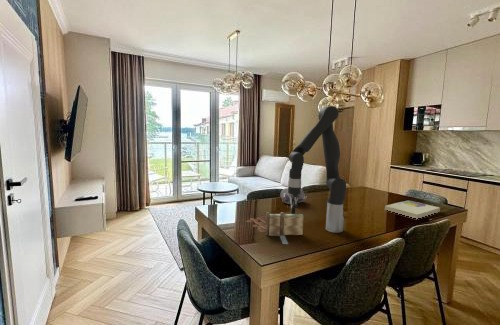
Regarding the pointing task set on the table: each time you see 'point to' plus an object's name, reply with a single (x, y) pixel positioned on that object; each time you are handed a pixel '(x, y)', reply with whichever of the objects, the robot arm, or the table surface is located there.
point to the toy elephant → (286, 195)
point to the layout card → (281, 238)
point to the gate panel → (293, 224)
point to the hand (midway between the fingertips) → (292, 214)
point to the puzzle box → (412, 209)
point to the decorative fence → (259, 223)
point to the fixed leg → (274, 224)
